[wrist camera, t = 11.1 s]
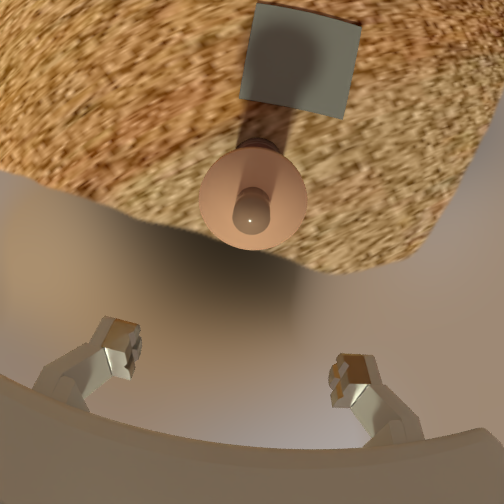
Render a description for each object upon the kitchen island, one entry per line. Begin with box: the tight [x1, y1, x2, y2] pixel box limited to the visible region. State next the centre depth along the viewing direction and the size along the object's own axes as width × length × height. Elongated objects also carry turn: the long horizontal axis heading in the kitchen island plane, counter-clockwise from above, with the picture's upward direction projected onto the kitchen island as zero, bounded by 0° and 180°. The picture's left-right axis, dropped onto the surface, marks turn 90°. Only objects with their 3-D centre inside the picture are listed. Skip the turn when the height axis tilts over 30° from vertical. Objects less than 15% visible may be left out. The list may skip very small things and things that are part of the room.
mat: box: [239, 3, 362, 120], centre depth 31 cm, size 13×13×1 cm
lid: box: [199, 147, 307, 250], centre depth 24 cm, size 9×9×4 cm
